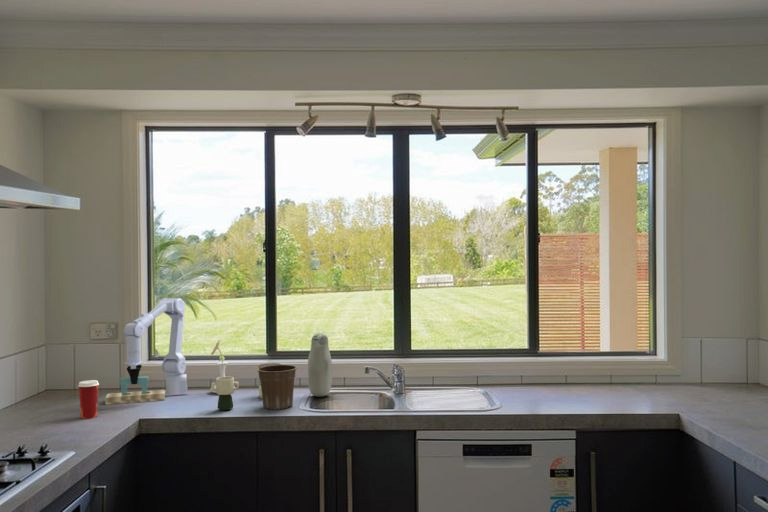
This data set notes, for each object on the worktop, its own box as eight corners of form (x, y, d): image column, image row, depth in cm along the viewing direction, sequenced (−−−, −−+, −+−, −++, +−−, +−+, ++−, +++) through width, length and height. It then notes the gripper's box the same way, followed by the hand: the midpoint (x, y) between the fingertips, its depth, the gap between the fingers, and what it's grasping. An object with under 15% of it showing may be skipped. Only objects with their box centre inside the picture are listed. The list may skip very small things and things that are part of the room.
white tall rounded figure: (304, 397, 286) (303, 334, 286) (319, 393, 294) (318, 331, 295) (321, 399, 280) (320, 335, 281) (336, 395, 289) (335, 333, 289)
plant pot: (261, 412, 258) (261, 372, 258) (254, 404, 273) (253, 366, 273) (301, 408, 264) (300, 369, 264) (292, 400, 279) (291, 363, 279)
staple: (148, 391, 278) (148, 376, 278) (148, 392, 275) (147, 377, 275) (120, 393, 274) (120, 377, 274) (120, 394, 271) (120, 379, 271)
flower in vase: (215, 389, 305) (215, 337, 305) (238, 390, 303) (238, 337, 303) (204, 395, 292) (203, 340, 292) (228, 396, 290) (227, 340, 290)
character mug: (239, 407, 269) (238, 375, 269) (238, 410, 262) (238, 378, 262) (212, 408, 266) (211, 377, 266) (211, 412, 259) (210, 380, 259)
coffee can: (269, 393, 296) (269, 362, 296) (286, 395, 290) (286, 364, 290) (253, 397, 287) (253, 365, 287) (271, 399, 281) (270, 367, 281)
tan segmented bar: (164, 396, 292) (164, 389, 292) (164, 400, 284) (164, 393, 284) (107, 400, 285) (107, 393, 285) (105, 404, 276) (105, 397, 276)
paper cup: (104, 415, 256) (103, 380, 256) (87, 420, 249) (87, 384, 250) (90, 414, 260) (89, 379, 260) (73, 418, 253) (73, 382, 253)
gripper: (125, 349, 280) (125, 380, 280) (122, 354, 266) (123, 387, 266) (142, 348, 282) (142, 379, 282) (140, 353, 269) (141, 385, 268)
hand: (134, 383), depth 274 cm, fingers closed on staple, 3 cm apart
